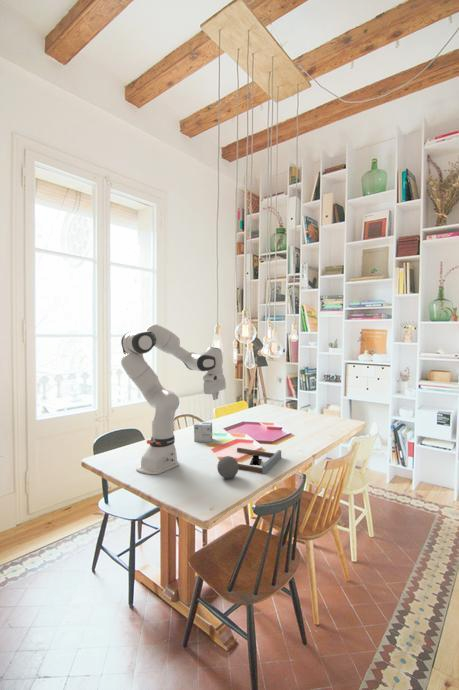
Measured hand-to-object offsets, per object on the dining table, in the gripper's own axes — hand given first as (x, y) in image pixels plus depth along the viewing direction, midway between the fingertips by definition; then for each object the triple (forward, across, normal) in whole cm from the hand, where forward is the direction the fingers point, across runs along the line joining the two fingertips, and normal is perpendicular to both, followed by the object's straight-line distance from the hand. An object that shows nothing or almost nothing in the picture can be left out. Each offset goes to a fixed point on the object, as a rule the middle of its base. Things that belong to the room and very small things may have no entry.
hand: (215, 399), depth 211 cm
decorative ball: (+29, +32, +24) cm, 50 cm away
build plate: (+30, +8, +28) cm, 42 cm away
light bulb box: (+29, -11, -15) cm, 35 cm away
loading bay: (+29, +9, +25) cm, 39 cm away
